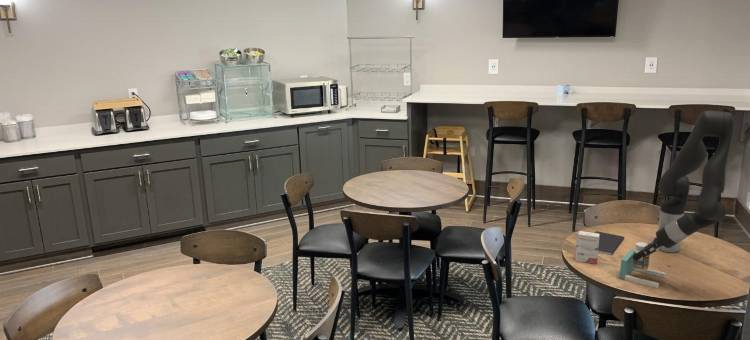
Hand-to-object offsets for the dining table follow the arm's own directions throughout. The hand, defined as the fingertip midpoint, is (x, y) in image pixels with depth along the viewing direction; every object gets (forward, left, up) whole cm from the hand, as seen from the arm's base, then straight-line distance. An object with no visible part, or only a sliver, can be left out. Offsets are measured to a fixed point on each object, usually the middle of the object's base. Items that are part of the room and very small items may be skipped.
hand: (636, 255), depth 233 cm
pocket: (+2, +3, -9) cm, 9 cm away
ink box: (-14, -15, -9) cm, 22 cm away
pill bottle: (+1, +1, -5) cm, 5 cm away
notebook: (-31, -2, -9) cm, 33 cm away
